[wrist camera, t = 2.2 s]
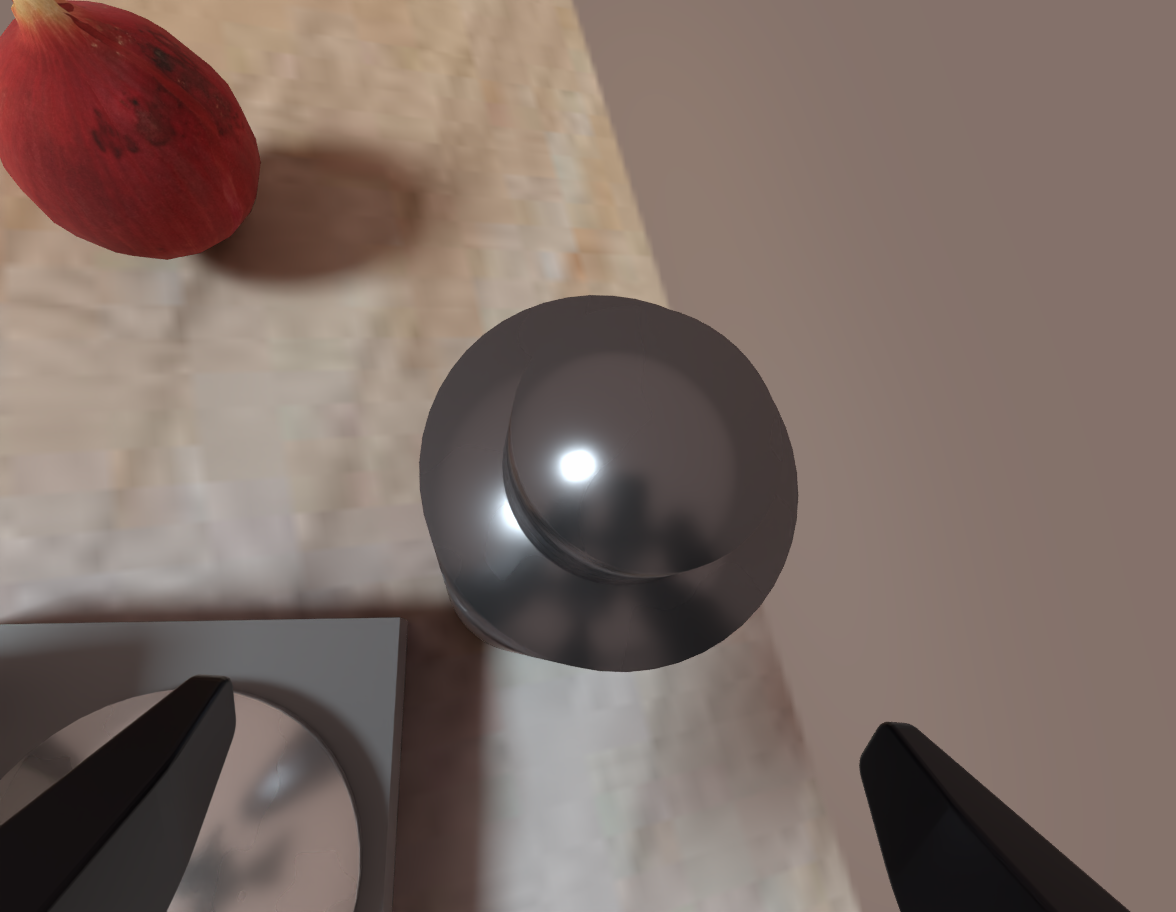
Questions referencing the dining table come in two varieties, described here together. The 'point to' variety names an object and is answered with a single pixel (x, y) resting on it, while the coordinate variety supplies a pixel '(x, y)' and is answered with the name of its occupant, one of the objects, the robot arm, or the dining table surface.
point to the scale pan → (239, 810)
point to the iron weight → (606, 485)
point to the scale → (256, 666)
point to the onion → (122, 130)
